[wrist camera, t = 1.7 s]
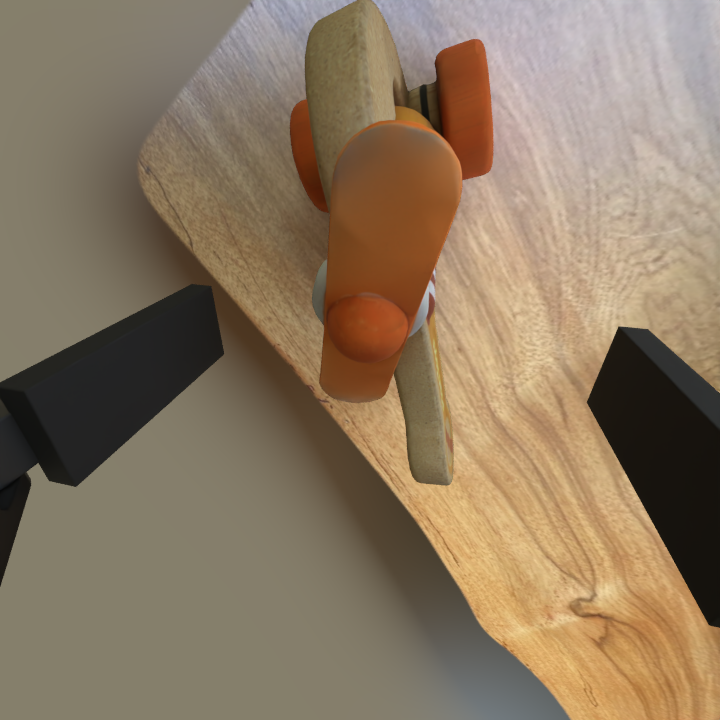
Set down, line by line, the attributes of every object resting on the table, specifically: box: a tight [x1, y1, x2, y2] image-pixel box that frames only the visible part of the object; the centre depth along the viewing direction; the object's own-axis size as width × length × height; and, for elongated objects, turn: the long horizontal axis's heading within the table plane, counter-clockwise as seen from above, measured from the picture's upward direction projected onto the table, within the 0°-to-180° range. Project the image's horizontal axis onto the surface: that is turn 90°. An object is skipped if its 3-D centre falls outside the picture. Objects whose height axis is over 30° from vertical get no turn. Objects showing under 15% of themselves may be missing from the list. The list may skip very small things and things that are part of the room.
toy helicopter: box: [290, 0, 493, 485], centre depth 16 cm, size 8×21×14 cm, turn 14°
